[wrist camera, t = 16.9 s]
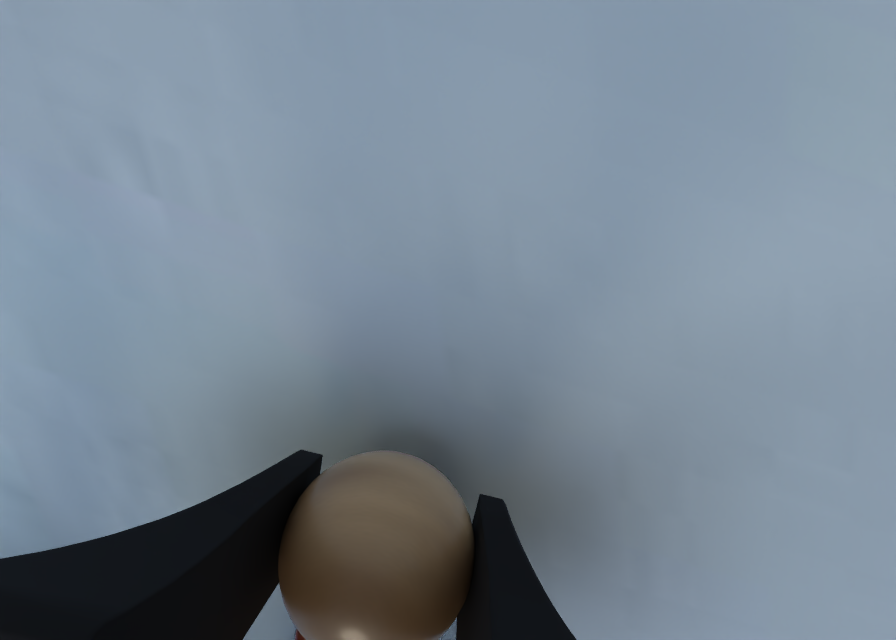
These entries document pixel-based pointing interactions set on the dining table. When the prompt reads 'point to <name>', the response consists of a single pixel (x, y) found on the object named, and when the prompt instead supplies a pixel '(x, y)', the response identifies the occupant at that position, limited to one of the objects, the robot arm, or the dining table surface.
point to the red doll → (376, 551)
